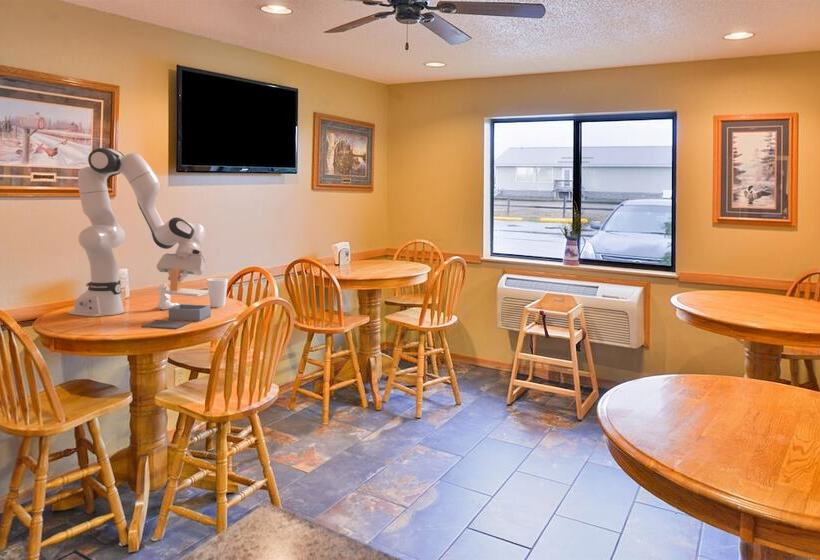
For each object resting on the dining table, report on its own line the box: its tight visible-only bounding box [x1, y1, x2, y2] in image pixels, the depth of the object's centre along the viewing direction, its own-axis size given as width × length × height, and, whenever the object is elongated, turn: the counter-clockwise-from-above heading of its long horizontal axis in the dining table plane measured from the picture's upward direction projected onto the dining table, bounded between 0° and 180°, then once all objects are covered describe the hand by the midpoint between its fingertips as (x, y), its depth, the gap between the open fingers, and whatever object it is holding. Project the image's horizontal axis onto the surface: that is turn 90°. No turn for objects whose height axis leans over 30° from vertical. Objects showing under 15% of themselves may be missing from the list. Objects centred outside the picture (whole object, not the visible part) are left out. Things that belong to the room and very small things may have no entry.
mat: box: [141, 319, 191, 330], centre depth 244 cm, size 15×11×1 cm
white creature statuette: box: [155, 283, 180, 311], centre depth 274 cm, size 10×9×12 cm
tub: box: [167, 303, 212, 322], centre depth 257 cm, size 14×10×5 cm
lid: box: [166, 269, 209, 297], centre depth 254 cm, size 14×10×10 cm
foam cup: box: [206, 277, 229, 308], centre depth 283 cm, size 10×9×13 cm
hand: (174, 280), depth 254 cm, fingers closed on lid, 3 cm apart
